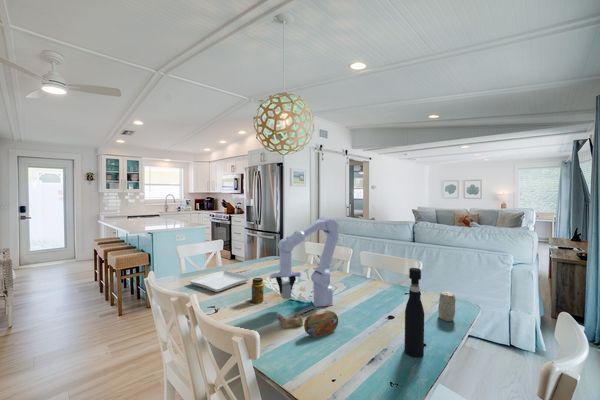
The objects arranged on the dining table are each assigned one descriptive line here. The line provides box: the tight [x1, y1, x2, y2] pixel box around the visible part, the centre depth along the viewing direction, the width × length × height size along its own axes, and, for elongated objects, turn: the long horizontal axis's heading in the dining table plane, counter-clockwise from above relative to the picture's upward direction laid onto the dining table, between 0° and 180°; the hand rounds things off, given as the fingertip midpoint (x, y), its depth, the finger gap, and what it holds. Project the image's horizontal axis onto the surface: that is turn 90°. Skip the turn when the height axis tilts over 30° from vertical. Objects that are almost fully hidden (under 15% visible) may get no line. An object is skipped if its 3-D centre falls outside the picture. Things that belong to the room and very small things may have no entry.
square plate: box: [188, 270, 252, 293], centre depth 176 cm, size 27×27×4 cm
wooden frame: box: [277, 311, 304, 329], centre depth 125 cm, size 9×11×4 cm
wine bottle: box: [404, 267, 425, 359], centre depth 101 cm, size 6×6×30 cm
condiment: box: [245, 277, 267, 306], centre depth 147 cm, size 7×8×12 cm
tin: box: [303, 310, 339, 338], centre depth 115 cm, size 15×3×8 cm, turn 117°
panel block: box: [279, 280, 292, 300], centre depth 137 cm, size 4×7×6 cm, turn 13°
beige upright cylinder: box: [437, 290, 456, 322], centre depth 128 cm, size 6×8×12 cm
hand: (285, 292), depth 137 cm, fingers closed on panel block, 4 cm apart
